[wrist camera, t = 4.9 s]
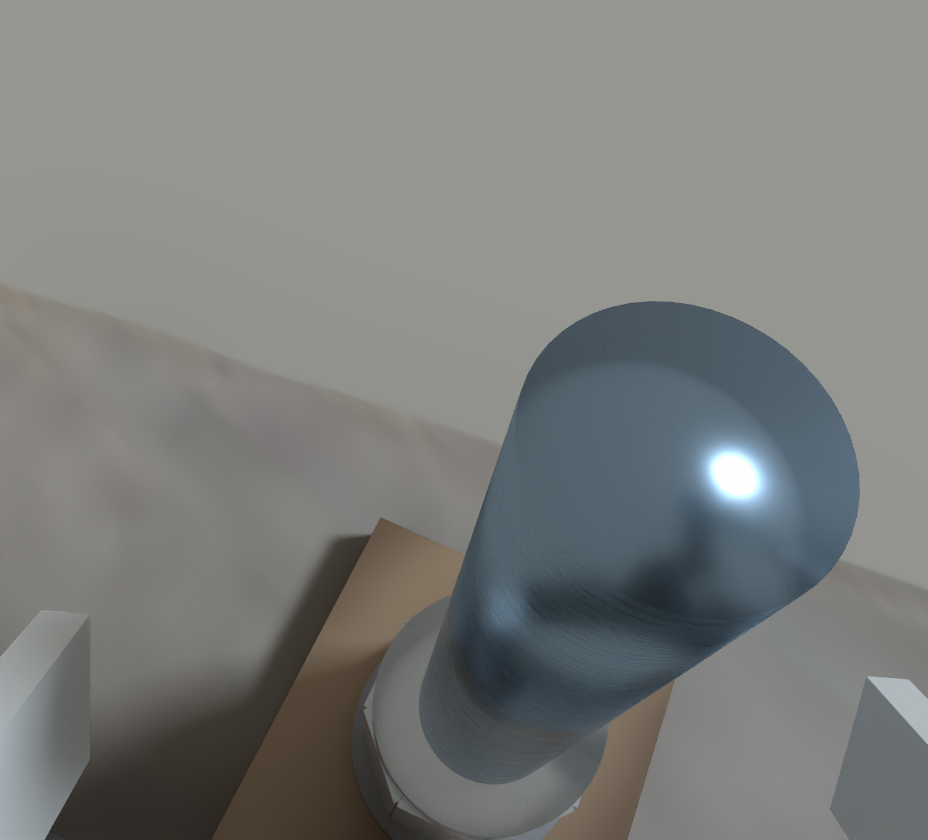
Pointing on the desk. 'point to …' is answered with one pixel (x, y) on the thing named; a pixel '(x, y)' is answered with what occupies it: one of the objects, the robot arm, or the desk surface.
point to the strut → (608, 561)
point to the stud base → (341, 714)
